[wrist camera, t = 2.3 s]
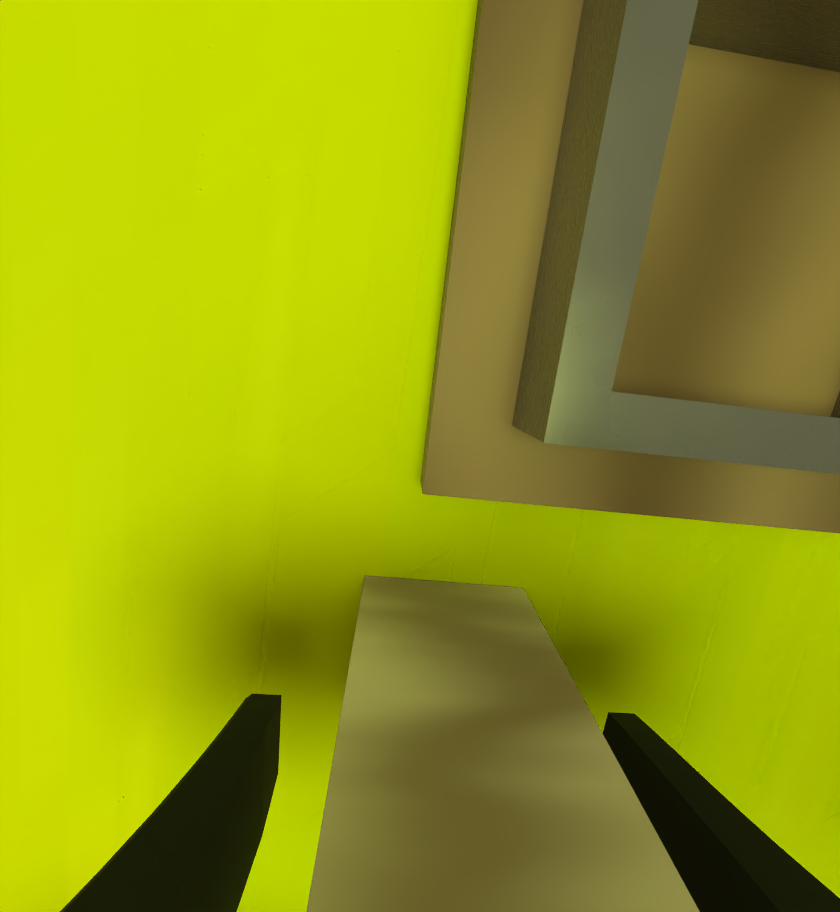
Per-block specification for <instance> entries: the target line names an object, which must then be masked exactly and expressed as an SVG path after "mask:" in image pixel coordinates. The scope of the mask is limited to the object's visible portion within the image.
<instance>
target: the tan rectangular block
mask: <svg viewBox="0 0 840 912" xmlns="http://www.w3.org/2000/svg"><path fill="white" fill-rule="evenodd" d="M307 912H700V911H699V910H698V908H697V906H696V904H695V902H694V900H693V899H692V897H691V895H690V893H689V891H688V889H687V888H686V886H685V884H684V882H683V880H682V878H681V877H680V875H679V873H678V871H677V869H676V867H675V866H674V864H673V862H672V860H671V858H670V856H669V855H668V853H667V851H666V849H665V847H664V845H663V844H662V842H661V840H660V838H659V836H658V834H657V833H656V831H655V829H654V827H653V825H652V823H651V822H650V820H649V818H648V816H647V814H646V812H645V811H644V809H643V807H642V805H641V803H640V801H639V800H638V798H637V796H636V794H635V792H634V790H633V789H632V787H631V785H630V783H629V781H628V779H627V778H626V776H625V774H624V772H623V770H622V768H621V767H620V765H619V763H618V761H617V759H616V757H615V756H614V754H613V752H612V750H611V748H610V746H609V745H608V743H607V741H606V739H605V737H604V735H603V734H602V732H601V730H600V728H599V726H598V724H597V723H596V721H595V719H594V717H593V715H592V713H591V712H590V710H589V708H588V706H587V704H586V702H585V701H584V699H583V697H582V695H581V693H580V691H579V690H578V688H577V686H576V684H575V682H574V680H573V679H572V677H571V675H570V673H569V671H568V669H567V668H566V666H565V664H564V662H563V660H562V658H561V657H560V655H559V653H558V651H557V649H556V647H555V646H554V644H553V642H552V640H551V638H550V636H549V635H548V633H547V631H546V629H545V627H544V625H543V624H542V622H541V620H540V618H539V616H538V614H537V613H536V611H535V609H534V607H533V605H532V603H531V602H530V600H529V598H528V596H527V594H526V592H525V591H524V589H523V588H521V587H508V586H495V585H482V584H469V583H457V582H444V581H431V580H418V579H405V578H393V577H380V576H367V575H365V577H364V582H363V588H362V594H361V600H360V606H359V611H358V617H357V623H356V629H355V634H354V640H353V646H352V652H351V658H350V663H349V669H348V675H347V681H346V686H345V692H344V698H343V704H342V710H341V715H340V721H339V727H338V733H337V738H336V744H335V750H334V756H333V762H332V767H331V773H330V779H329V785H328V790H327V796H326V802H325V808H324V814H323V819H322V825H321V831H320V837H319V843H318V848H317V854H316V860H315V866H314V871H313V877H312V883H311V889H310V895H309V900H308V906H307Z"/></svg>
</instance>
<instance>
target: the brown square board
mask: <svg viewBox="0 0 840 912" xmlns="http://www.w3.org/2000/svg"><path fill="white" fill-rule="evenodd" d="M582 6H583V0H478V7H477V15H476V23H475V32H474V40H473V48H472V57H471V65H470V73H469V82H468V90H467V98H466V107H465V115H464V124H463V132H462V140H461V149H460V157H459V165H458V174H457V182H456V190H455V199H454V207H453V215H452V224H451V232H450V240H449V249H448V257H447V265H446V274H445V282H444V291H443V299H442V307H441V316H440V324H439V332H438V341H437V349H436V357H435V366H434V374H433V382H432V391H431V399H430V407H429V416H428V424H427V432H426V441H425V449H424V457H423V466H422V474H421V487H422V493H423V494H428V495H438V496H449V497H459V498H470V499H481V500H491V501H502V502H513V503H523V504H534V505H545V506H555V507H566V508H576V509H587V510H598V511H608V512H619V513H630V514H640V515H651V516H662V517H672V518H683V519H694V520H704V521H715V522H725V523H736V524H747V525H757V526H768V527H779V528H789V529H800V530H811V531H821V532H832V533H840V474H833V473H824V472H814V471H805V470H795V469H786V468H776V467H767V466H757V465H748V464H739V463H729V462H720V461H710V460H701V459H691V458H682V457H672V456H663V455H654V454H644V453H635V452H625V451H616V450H606V449H597V448H588V447H578V446H569V445H559V444H550V443H543V442H541V441H539V440H538V439H536V438H534V437H532V436H530V435H528V434H527V433H525V432H523V431H521V430H519V429H517V428H516V427H514V426H512V421H513V415H514V409H515V404H516V398H517V392H518V386H519V380H520V374H521V368H522V362H523V356H524V350H525V344H526V338H527V332H528V326H529V320H530V315H531V309H532V303H533V297H534V291H535V285H536V279H537V273H538V267H539V261H540V255H541V249H542V243H543V237H544V232H545V226H546V220H547V214H548V208H549V202H550V196H551V190H552V184H553V178H554V172H555V166H556V160H557V154H558V148H559V143H560V137H561V131H562V125H563V119H564V113H565V107H566V101H567V95H568V89H569V83H570V77H571V71H572V65H573V60H574V54H575V48H576V42H577V36H578V30H579V24H580V18H581V12H582ZM612 391H616V392H624V393H633V394H641V395H650V396H658V397H667V398H675V399H684V400H692V401H701V402H709V403H718V404H726V405H735V406H744V407H752V408H761V409H769V410H778V411H786V412H795V413H803V414H812V415H820V416H829V417H830V416H831V413H832V411H833V408H834V405H835V402H836V399H837V396H838V394H839V391H840V72H834V71H829V70H824V69H818V68H813V67H808V66H802V65H797V64H792V63H786V62H781V61H776V60H770V59H765V58H760V57H754V56H749V55H744V54H738V53H733V52H728V51H722V50H717V49H712V48H706V47H701V46H696V45H690V44H689V45H688V49H687V54H686V58H685V63H684V67H683V72H682V76H681V81H680V85H679V90H678V94H677V99H676V103H675V108H674V112H673V117H672V121H671V126H670V130H669V135H668V139H667V144H666V148H665V153H664V157H663V162H662V166H661V171H660V175H659V180H658V184H657V189H656V193H655V198H654V202H653V207H652V211H651V216H650V220H649V225H648V229H647V234H646V239H645V243H644V248H643V252H642V257H641V261H640V266H639V270H638V275H637V279H636V284H635V288H634V293H633V297H632V302H631V306H630V311H629V315H628V320H627V324H626V329H625V333H624V338H623V342H622V347H621V351H620V356H619V360H618V365H617V369H616V374H615V378H614V383H613V387H612Z"/></svg>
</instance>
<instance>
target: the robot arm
mask: <svg viewBox="0 0 840 912" xmlns="http://www.w3.org/2000/svg"><path fill="white" fill-rule="evenodd" d="M280 714H281V695H266V694H251V695H250V696H248V697H247V698H246V699H245V700H244V702H243V703H242V704H241V706H240V707H239V708H238V710H237V711H236V712H235V714H234V715H233V716H232V718H231V719H230V720H229V721H228V723H227V724H226V725H225V727H224V728H223V729H222V730H221V732H220V733H219V734H218V736H217V737H216V738H215V739H214V741H213V742H212V743H211V744H210V745H209V747H208V748H207V749H206V750H205V752H204V753H203V754H202V755H201V757H200V758H199V759H198V760H197V761H196V763H195V764H194V765H193V766H192V767H191V769H190V770H189V771H188V772H187V773H186V774H185V776H184V777H183V778H182V779H181V780H180V781H179V783H178V784H177V785H176V786H175V787H174V788H173V790H172V791H171V792H170V793H169V794H168V796H167V797H166V798H165V799H164V800H163V801H162V803H161V804H160V805H159V806H158V807H157V808H156V809H155V811H154V812H153V813H152V814H151V815H150V816H149V817H148V818H147V819H146V821H145V822H144V823H143V824H142V825H141V826H140V827H139V828H138V829H137V830H136V831H135V833H134V834H133V835H132V836H131V837H130V838H129V839H128V840H127V841H126V842H125V843H124V845H123V846H122V847H121V848H120V849H119V850H118V851H117V852H116V853H115V854H114V856H113V857H112V858H111V859H110V860H109V861H108V862H107V863H106V864H105V865H104V866H103V868H102V869H101V870H100V871H99V872H98V873H97V874H96V875H95V876H94V877H93V878H92V879H91V880H90V881H89V882H88V883H87V884H86V885H85V886H84V887H83V889H82V890H81V891H80V892H79V893H78V894H77V895H76V896H75V897H74V898H73V899H72V900H71V901H70V902H69V903H68V904H67V905H66V906H65V907H64V908H63V909H62V910H61V911H60V912H236V911H237V908H238V906H239V903H240V900H241V897H242V894H243V891H244V888H245V885H246V882H247V879H248V876H249V873H250V870H251V867H252V864H253V861H254V858H255V855H256V852H257V849H258V846H259V843H260V840H261V837H262V834H263V830H264V826H265V822H266V818H267V814H268V811H269V807H270V803H271V799H272V795H273V791H274V787H275V783H276V779H277V775H278V762H279V738H280ZM603 735H604V737H605V739H606V741H607V743H608V745H609V746H610V748H611V750H612V752H613V754H614V756H615V757H616V759H617V761H618V763H619V765H620V767H621V768H622V770H623V772H624V774H625V776H626V778H627V779H628V781H629V783H630V785H631V787H632V789H633V790H634V792H635V794H636V796H637V798H638V800H639V801H640V803H641V805H642V807H643V809H644V811H645V812H646V814H647V816H648V818H649V820H650V822H651V823H652V825H653V827H654V829H655V831H656V833H657V834H658V836H659V838H660V840H661V842H662V844H663V845H664V847H665V849H666V851H667V853H668V855H669V856H670V858H671V860H672V862H673V864H674V866H675V867H676V869H677V871H678V873H679V875H680V877H681V878H682V880H683V882H684V884H685V886H686V888H687V889H688V891H689V893H690V895H691V897H692V899H693V900H694V902H695V904H696V906H697V908H698V910H699V911H700V912H840V898H838V897H837V896H836V895H835V894H834V893H833V892H831V891H830V890H829V889H828V888H827V887H826V886H824V885H823V884H822V883H821V882H820V881H819V880H817V879H816V878H815V877H814V876H813V875H812V874H811V873H809V872H808V871H807V870H806V869H805V868H804V867H802V866H801V865H800V864H799V863H798V862H797V861H795V860H794V859H793V858H792V857H791V856H790V855H788V854H787V853H786V852H785V851H784V850H783V849H782V848H781V847H779V846H778V845H777V844H776V843H775V842H774V841H773V840H772V839H770V838H769V837H768V836H767V835H766V834H765V833H764V832H763V831H761V830H760V829H759V828H758V827H757V826H756V825H755V824H754V823H753V822H751V821H750V820H749V819H748V818H747V817H746V816H745V815H744V814H743V813H742V812H740V811H739V810H738V809H737V808H736V807H735V806H734V805H733V804H732V803H731V802H730V801H728V800H727V799H726V798H725V797H724V796H723V795H722V794H721V793H720V792H719V791H718V790H717V789H715V788H714V787H713V786H712V785H711V784H710V783H709V782H708V781H707V780H706V779H705V778H704V777H703V776H701V775H700V774H699V773H698V772H697V771H696V770H695V769H694V768H693V767H692V766H691V765H690V764H689V763H688V762H686V761H685V760H684V759H683V758H682V757H681V756H680V755H679V754H678V753H677V752H676V751H675V750H674V749H673V748H672V747H670V746H669V745H668V744H667V743H666V742H665V741H664V740H663V739H662V738H661V737H660V736H659V735H658V734H656V733H655V732H654V731H653V730H652V729H651V728H650V727H649V726H648V725H647V724H645V723H644V722H643V721H642V720H641V719H640V718H639V717H637V716H636V715H635V714H629V713H610V712H608V716H607V719H606V723H605V727H604V731H603Z"/></svg>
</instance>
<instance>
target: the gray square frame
mask: <svg viewBox="0 0 840 912" xmlns="http://www.w3.org/2000/svg"><path fill="white" fill-rule="evenodd" d="M689 44H690V45H696V46H701V47H706V48H712V49H717V50H722V51H728V52H733V53H738V54H744V55H749V56H754V57H760V58H765V59H770V60H776V61H781V62H786V63H792V64H797V65H802V66H808V67H813V68H818V69H824V70H829V71H834V72H840V0H583V6H582V12H581V18H580V24H579V30H578V36H577V42H576V48H575V54H574V60H573V65H572V71H571V77H570V83H569V89H568V95H567V101H566V107H565V113H564V119H563V125H562V131H561V137H560V143H559V148H558V154H557V160H556V166H555V172H554V178H553V184H552V190H551V196H550V202H549V208H548V214H547V220H546V226H545V232H544V237H543V243H542V249H541V255H540V261H539V267H538V273H537V279H536V285H535V291H534V297H533V303H532V309H531V315H530V320H529V326H528V332H527V338H526V344H525V350H524V356H523V362H522V368H521V374H520V380H519V386H518V392H517V398H516V404H515V409H514V415H513V421H512V426H514V427H516V428H517V429H519V430H521V431H523V432H525V433H527V434H528V435H530V436H532V437H534V438H536V439H538V440H539V441H541V442H543V443H550V444H559V445H569V446H578V447H588V448H597V449H606V450H616V451H625V452H635V453H644V454H654V455H663V456H672V457H682V458H691V459H701V460H710V461H720V462H729V463H739V464H748V465H757V466H767V467H776V468H786V469H795V470H805V471H814V472H824V473H833V474H840V391H839V394H838V396H837V399H836V402H835V405H834V408H833V411H832V413H831V416H830V417H829V416H820V415H812V414H803V413H795V412H786V411H778V410H769V409H761V408H752V407H744V406H735V405H726V404H718V403H709V402H701V401H692V400H684V399H675V398H667V397H658V396H650V395H641V394H633V393H624V392H616V391H612V387H613V383H614V378H615V374H616V369H617V365H618V360H619V356H620V351H621V347H622V342H623V338H624V333H625V329H626V324H627V320H628V315H629V311H630V306H631V302H632V297H633V293H634V288H635V284H636V279H637V275H638V270H639V266H640V261H641V257H642V252H643V248H644V243H645V239H646V234H647V229H648V225H649V220H650V216H651V211H652V207H653V202H654V198H655V193H656V189H657V184H658V180H659V175H660V171H661V166H662V162H663V157H664V153H665V148H666V144H667V139H668V135H669V130H670V126H671V121H672V117H673V112H674V108H675V103H676V99H677V94H678V90H679V85H680V81H681V76H682V72H683V67H684V63H685V58H686V54H687V49H688V45H689Z"/></svg>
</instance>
